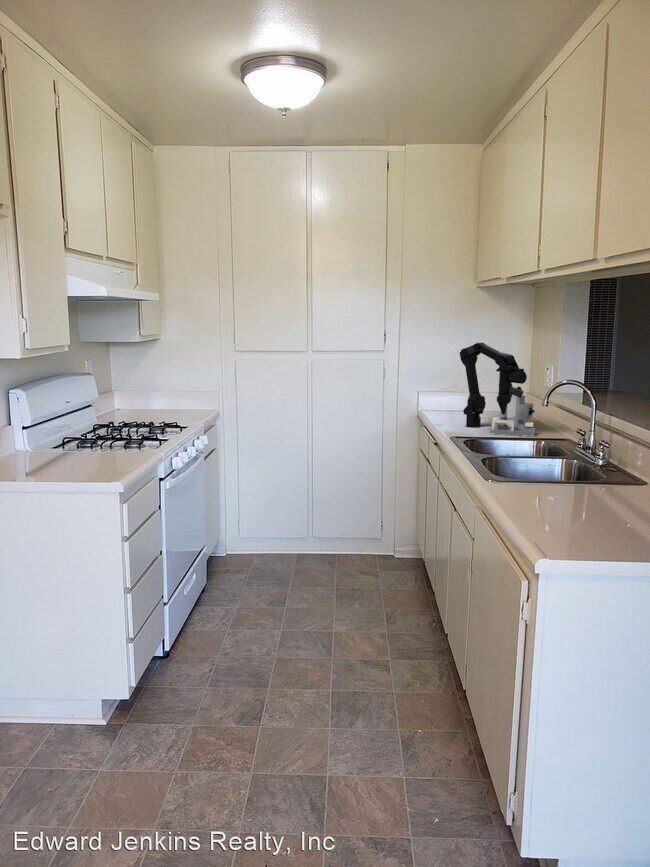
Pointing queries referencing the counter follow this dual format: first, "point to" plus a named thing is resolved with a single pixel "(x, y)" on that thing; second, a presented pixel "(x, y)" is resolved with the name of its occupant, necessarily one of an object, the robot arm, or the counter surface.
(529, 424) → the rocker switch
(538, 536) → the counter surface
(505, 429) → the breaker panel
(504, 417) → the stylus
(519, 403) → the circuit breaker
